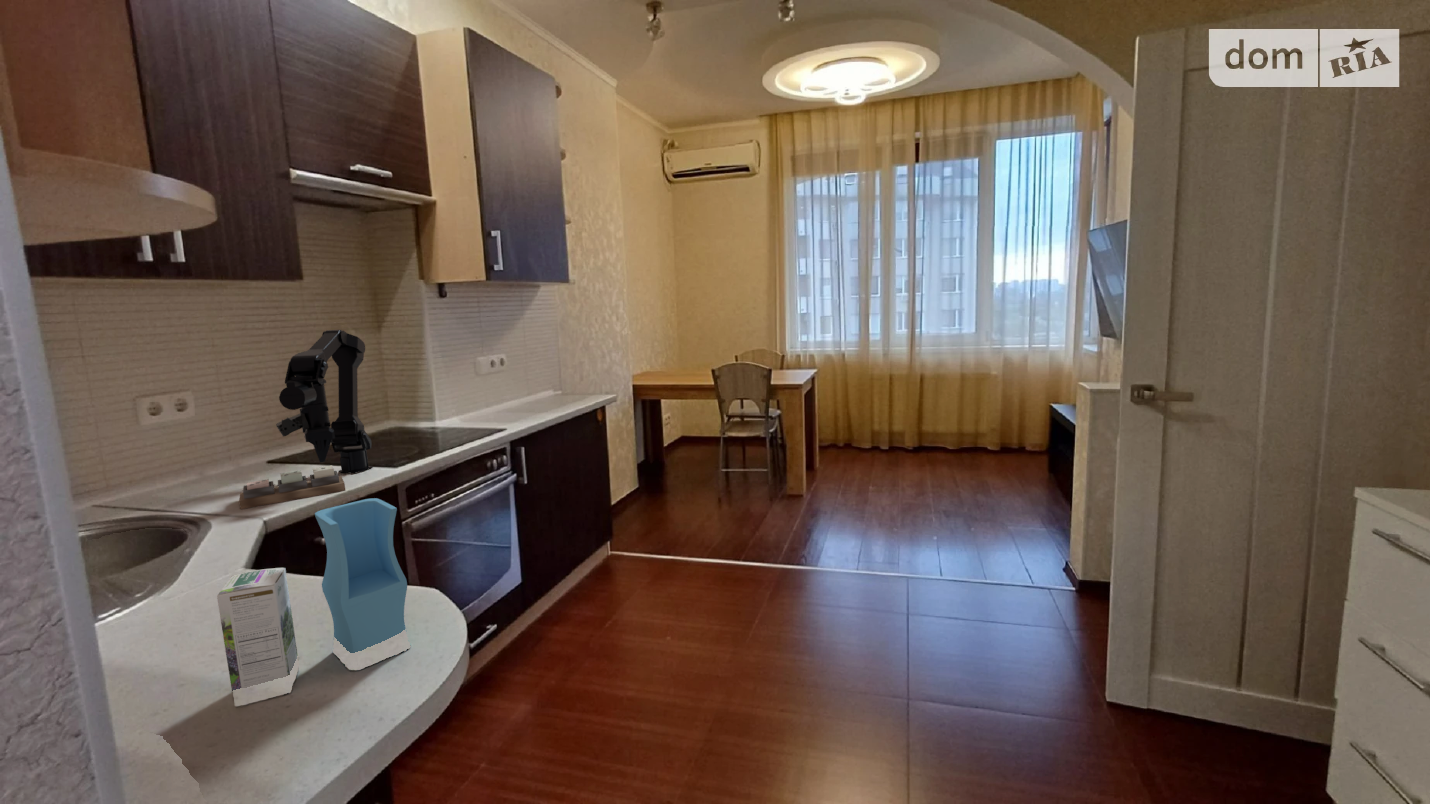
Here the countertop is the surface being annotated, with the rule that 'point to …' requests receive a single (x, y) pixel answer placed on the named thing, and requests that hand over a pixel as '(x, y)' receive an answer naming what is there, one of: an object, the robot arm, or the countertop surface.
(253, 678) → the syrup box
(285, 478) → the tile two
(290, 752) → the countertop surface
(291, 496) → the digit board
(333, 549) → the blue tall chair-shaped block
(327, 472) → the tile one
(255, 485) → the tile three
